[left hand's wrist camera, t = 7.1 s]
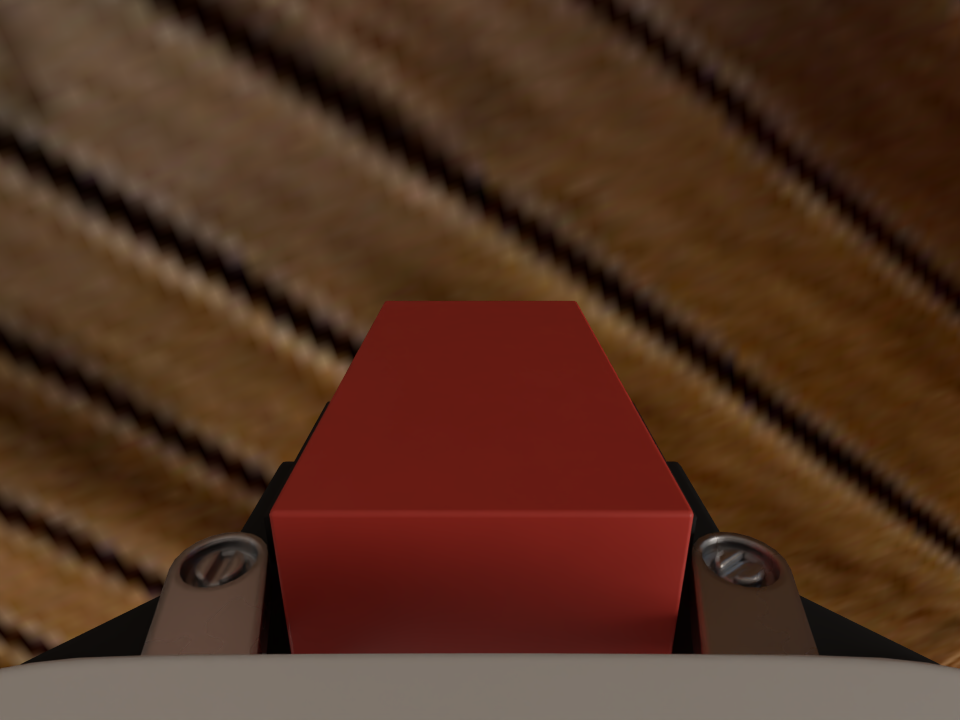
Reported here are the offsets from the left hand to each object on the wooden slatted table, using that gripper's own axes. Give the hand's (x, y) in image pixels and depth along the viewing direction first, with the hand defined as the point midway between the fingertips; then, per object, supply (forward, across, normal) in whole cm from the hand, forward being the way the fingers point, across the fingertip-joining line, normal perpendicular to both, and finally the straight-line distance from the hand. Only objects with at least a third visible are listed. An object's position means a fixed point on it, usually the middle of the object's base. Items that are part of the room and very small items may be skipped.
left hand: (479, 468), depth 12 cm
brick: (+3, 0, 0) cm, 3 cm away
